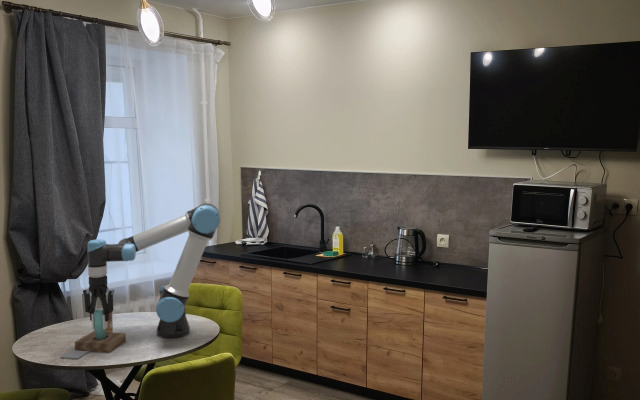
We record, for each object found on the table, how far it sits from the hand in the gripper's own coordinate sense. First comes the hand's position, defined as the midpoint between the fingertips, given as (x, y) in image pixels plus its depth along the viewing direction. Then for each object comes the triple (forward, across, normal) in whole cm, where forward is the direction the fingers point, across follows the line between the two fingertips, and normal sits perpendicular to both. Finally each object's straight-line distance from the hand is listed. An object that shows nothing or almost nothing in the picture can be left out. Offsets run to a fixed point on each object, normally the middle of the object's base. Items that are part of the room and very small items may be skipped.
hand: (99, 328), depth 244 cm
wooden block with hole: (+8, 0, -1) cm, 8 cm away
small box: (+9, +7, -15) cm, 18 cm away
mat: (+8, +5, +11) cm, 15 cm away
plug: (+5, 0, 0) cm, 5 cm away
